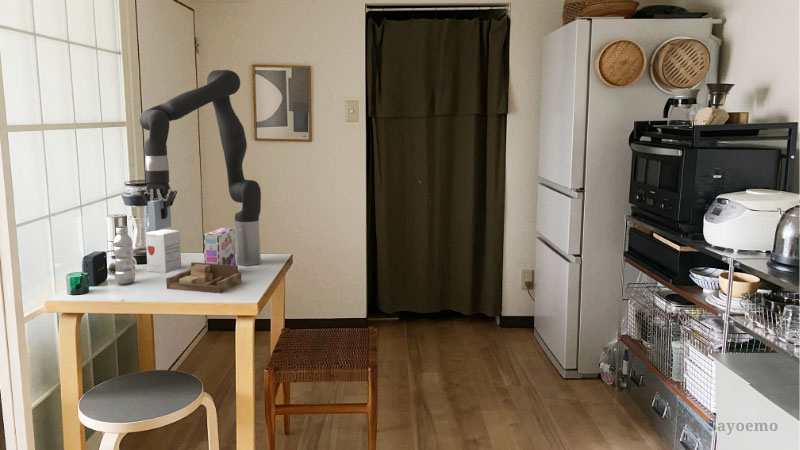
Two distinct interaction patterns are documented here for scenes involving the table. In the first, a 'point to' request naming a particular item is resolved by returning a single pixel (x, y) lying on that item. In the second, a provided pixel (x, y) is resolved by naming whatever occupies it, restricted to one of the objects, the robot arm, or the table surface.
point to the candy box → (220, 247)
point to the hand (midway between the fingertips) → (160, 218)
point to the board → (157, 216)
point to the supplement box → (163, 250)
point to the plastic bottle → (123, 256)
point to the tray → (221, 281)
